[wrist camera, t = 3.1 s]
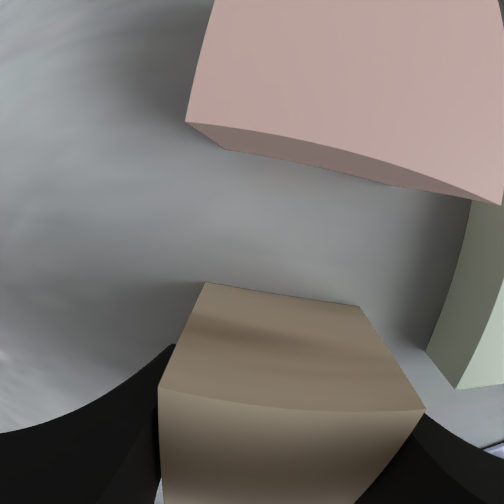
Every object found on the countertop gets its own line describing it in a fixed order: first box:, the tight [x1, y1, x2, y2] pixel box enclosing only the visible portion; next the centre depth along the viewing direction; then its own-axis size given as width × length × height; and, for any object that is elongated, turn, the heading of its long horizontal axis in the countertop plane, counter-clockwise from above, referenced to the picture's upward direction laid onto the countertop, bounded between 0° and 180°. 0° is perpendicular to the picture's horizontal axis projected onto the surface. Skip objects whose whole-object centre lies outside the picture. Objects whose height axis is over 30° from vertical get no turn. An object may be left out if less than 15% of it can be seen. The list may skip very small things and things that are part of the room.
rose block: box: [185, 0, 504, 206], centre depth 5 cm, size 5×5×5 cm
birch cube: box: [158, 282, 426, 504], centre depth 8 cm, size 5×5×5 cm
